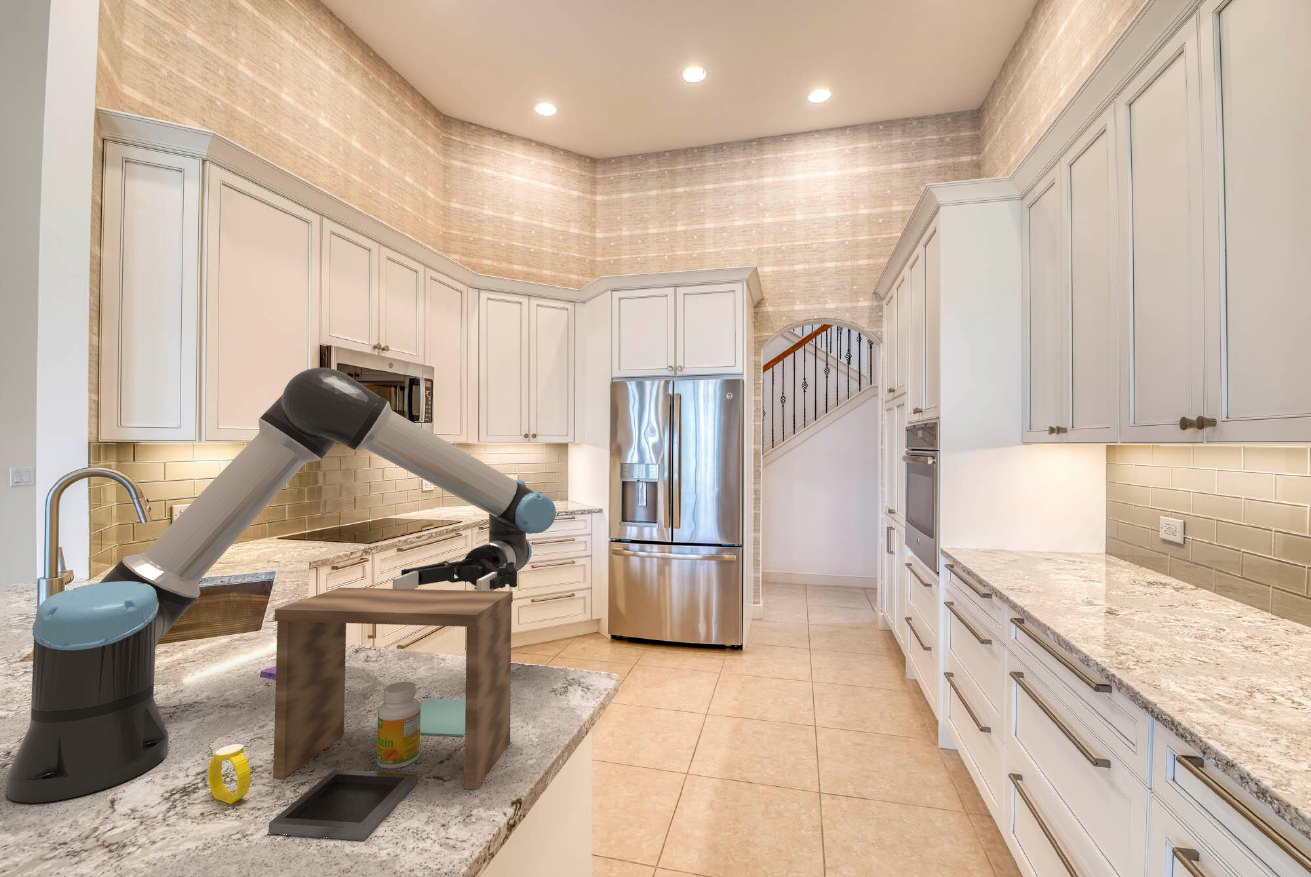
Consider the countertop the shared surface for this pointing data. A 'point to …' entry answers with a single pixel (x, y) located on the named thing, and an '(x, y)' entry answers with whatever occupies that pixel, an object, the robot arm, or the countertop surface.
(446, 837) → the countertop surface
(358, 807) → the tray
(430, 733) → the pad
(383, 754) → the supplement bottle
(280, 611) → the tunnel
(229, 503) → the robot arm
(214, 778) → the watch
